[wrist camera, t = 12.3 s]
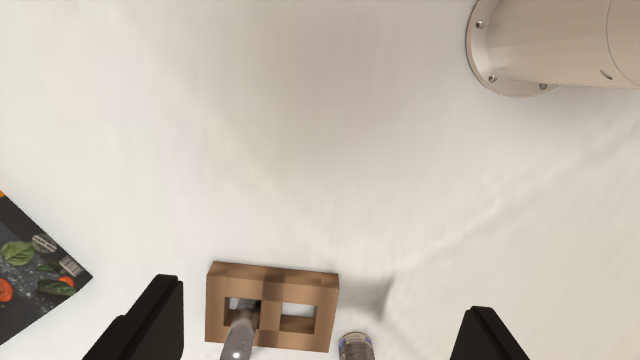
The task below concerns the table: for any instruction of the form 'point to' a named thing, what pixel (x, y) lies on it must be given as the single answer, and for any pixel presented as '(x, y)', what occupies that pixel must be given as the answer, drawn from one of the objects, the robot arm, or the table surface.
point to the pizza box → (31, 271)
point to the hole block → (273, 304)
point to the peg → (242, 330)
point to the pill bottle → (356, 347)
